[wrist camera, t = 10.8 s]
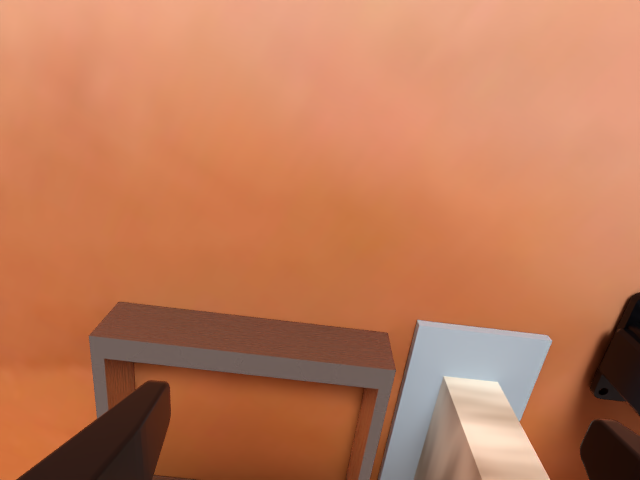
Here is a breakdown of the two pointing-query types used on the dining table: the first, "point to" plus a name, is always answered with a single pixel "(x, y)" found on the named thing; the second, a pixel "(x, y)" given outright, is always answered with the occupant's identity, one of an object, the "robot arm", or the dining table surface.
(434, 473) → the beige wooden block
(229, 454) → the dining table surface
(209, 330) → the rack
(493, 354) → the mat
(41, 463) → the robot arm
